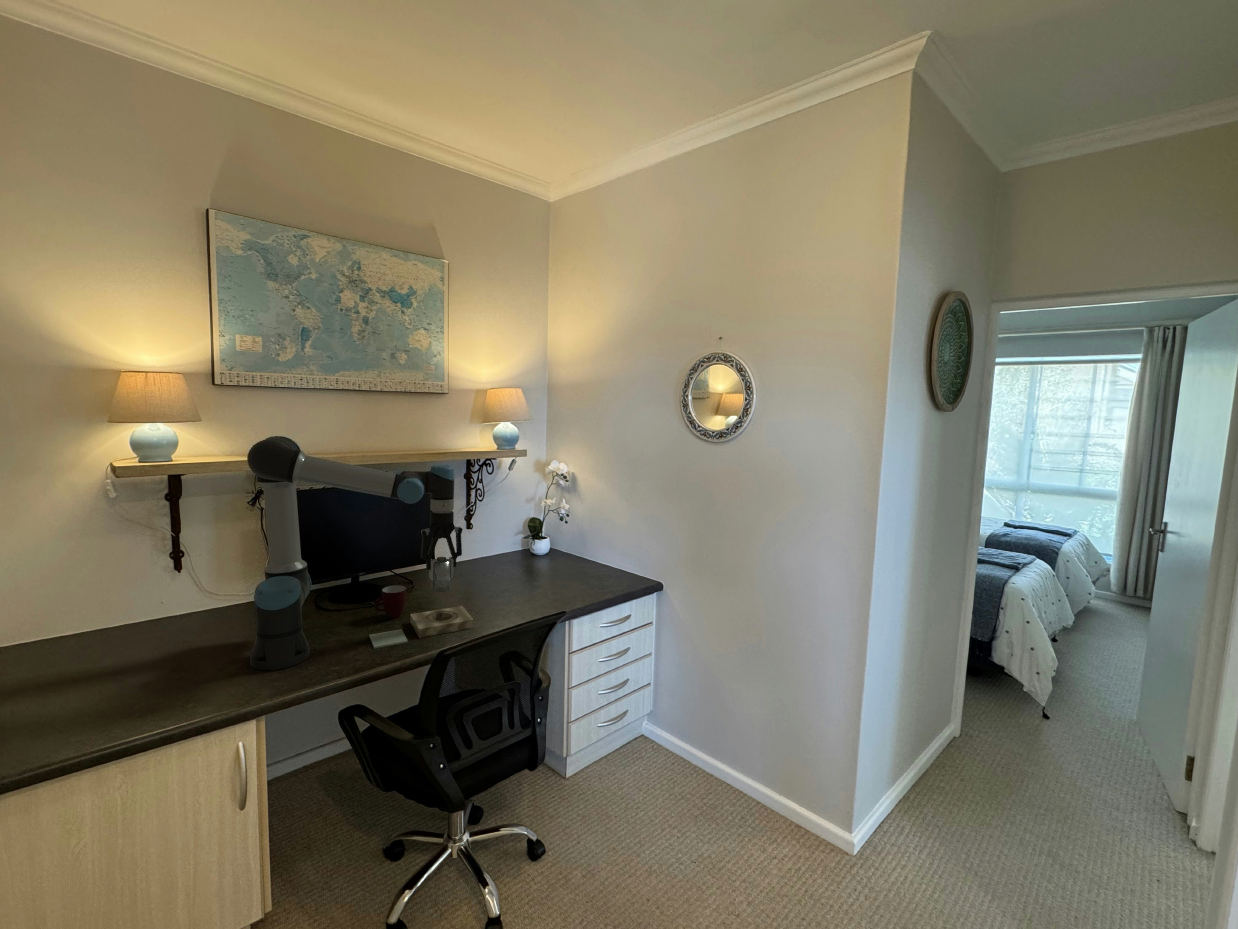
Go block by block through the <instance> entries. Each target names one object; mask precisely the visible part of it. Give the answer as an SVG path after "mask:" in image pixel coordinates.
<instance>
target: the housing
mask: <svg viewBox="0 0 1238 929" xmlns="http://www.w3.org/2000/svg"><path fill="white" fill-rule="evenodd" d="M409 617H410V619H409V620H410V625H411V626H412V628H413V630H414V632H415V633H416V635H417V636H418V638H419V639H420V638H426V637H432V636H436V635H442V634H447V633H453V632H454V633H455V632H458V631H459V632H460V631H463V630H465V631H466V630H469V629H474V628H475V627H474V626H475V625H474V623H475V622H474V618H473V617H472V616H471V614H469V612H468V611H467V610H466V608H465V607H463V605H459V606H454V607H445V608H440V609H435V610H429V611H423V612H422V611H421V612H416V613H415V612H414V613H410V615H409Z"/></svg>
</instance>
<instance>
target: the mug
mask: <svg viewBox="0 0 1238 929" xmlns="http://www.w3.org/2000/svg"><path fill="white" fill-rule="evenodd" d="M406 599H407V587H406V586H405V585H404V586H403V585H398V584H397V585H396V584H395V585H389V586H385V587H383V588H382V590H381V596H380V597H378V598H377V599H376V600H375V601H374V604H373V606H374V608H375V610H376V611H378V612H384V613H385V614H386V615H387V617H388V618H390V619H397V618H399V617H401V616H402V613H403V612H404V610H405V606H406ZM381 601H382V604H383V608H379V607H378V603H379V602H381Z"/></svg>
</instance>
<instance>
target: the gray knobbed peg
mask: <svg viewBox="0 0 1238 929" xmlns="http://www.w3.org/2000/svg"><path fill="white" fill-rule="evenodd" d="M432 560H433V580H431V591H432V592H435V593H445V592H447V591H450V590H451V577H450V565H451V560H450V559H449V558H447V557H446V556H437V557H436V558H435V559H432Z"/></svg>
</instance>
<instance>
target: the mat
mask: <svg viewBox="0 0 1238 929" xmlns="http://www.w3.org/2000/svg"><path fill="white" fill-rule="evenodd" d="M368 636H369V639H370V643H371V644H372V647H373V649H374V650H376V649H380V648H386V647H391V646H396V645H401V644H407V643H409V642H408V639H407V637H406V635H405V633H404V631H403V629H395V630H389V631H384V632H379V633H373V634H369V635H368Z"/></svg>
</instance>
